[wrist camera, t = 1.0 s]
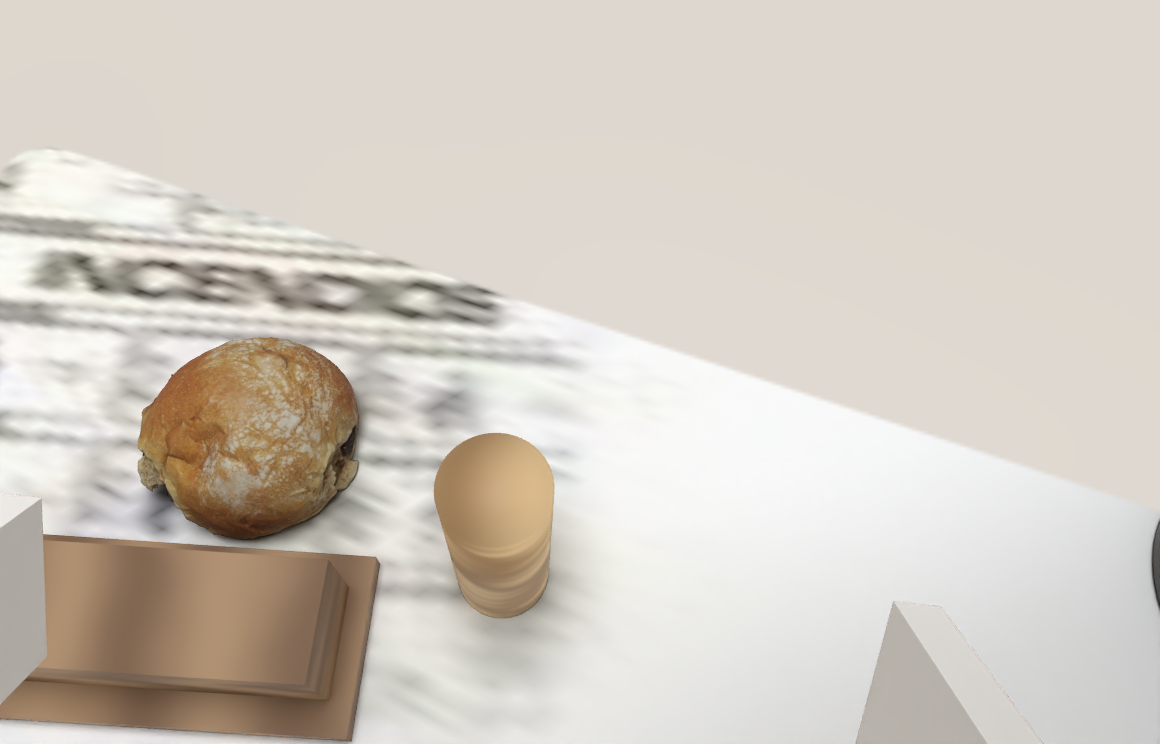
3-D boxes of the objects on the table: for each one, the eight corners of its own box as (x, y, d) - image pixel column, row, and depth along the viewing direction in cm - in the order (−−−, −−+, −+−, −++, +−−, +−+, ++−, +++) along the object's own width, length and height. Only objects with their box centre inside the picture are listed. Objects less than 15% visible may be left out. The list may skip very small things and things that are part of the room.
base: (379, 563, 43) (358, 526, 38) (351, 741, 40) (323, 727, 34) (47, 541, 43) (-22, 500, 38) (-13, 717, 39) (-98, 700, 34)
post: (551, 531, 44) (558, 437, 34) (544, 621, 42) (549, 550, 32) (463, 525, 44) (442, 429, 34) (452, 614, 42) (426, 542, 32)
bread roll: (324, 565, 47) (366, 527, 40) (109, 535, 42) (119, 486, 36) (350, 395, 51) (392, 336, 45) (158, 352, 47) (175, 281, 41)
